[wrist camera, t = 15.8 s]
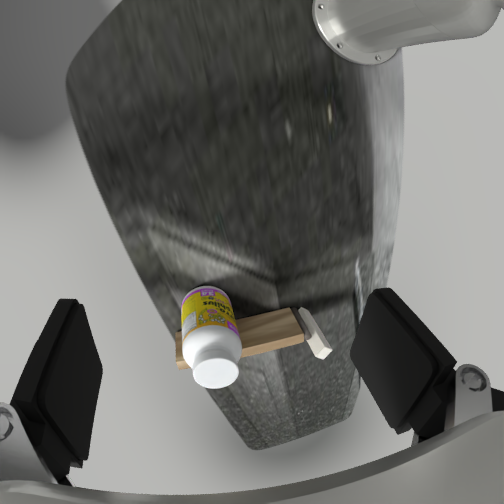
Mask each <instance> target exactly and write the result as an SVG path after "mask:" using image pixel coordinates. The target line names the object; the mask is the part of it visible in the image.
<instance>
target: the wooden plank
mask: <svg viewBox="0 0 504 504" xmlns="http://www.w3.org/2000/svg"><path fill="white" fill-rule="evenodd" d="M235 321H236V325H237V329H238V333H239V336H240V340H241V344H242V354H241V357H246V356H250V355H254V354H259V353H263V352H267V351H271V350H275V349H279V348H283V347H286V346H290V345H294V344H298V343H301V342H304V338H305V339H306V340H309V339H311V337H312V335H311V333H310V331H309V329H308V328H307V326H306V324H305V322H304V321H303V319H302V317H301V315H300V313H299V312H298V310H297V308H296V307H293V308H291V309H290V307H289V308H285V309H281V310H277V311H273V312H268V313H264V314H260V315H256V316H251V317H247V318H242V319H238V320H235ZM241 357H240V358H241ZM176 363H177V366H178V368H179V370H180V369H187V368H191V367H190V366H189V365H188V364H187V363H186V361H185V359H184V357H183V352H182V331H180V332H176Z"/></svg>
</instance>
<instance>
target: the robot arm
mask: <svg viewBox="0 0 504 504" xmlns="http://www.w3.org/2000/svg"><path fill="white" fill-rule="evenodd" d="M318 7H319V8H320V9H319V8H318ZM501 8H503V9H504V0H314V1H313V4H312V15H313V20H314V23H315V26H316V29H317V31H318V32H319V34H320V36H321V38H322V39H323V40H324V41H325V43H326V44H327V45H328V46H329V47H330V48H331V49H332V50H333V51H334V52H335V53H337V54H338V55H340V56H341V57H342V58H344V59H346V60H348V61H350V62H353V63H356V64H360V65H376V64H380V63H383V62H385V61H387V60H389V59H390V58H391V57H392V56H393V55H394V54H395V52H396V51H397V49H398V48H400V47H405V46H411V45H417V44H423V43H430V42H438V41H446V40H455V39H465V38H473V37H477V36H480V35H482V34H484V33H485V32H487V31H488V30H489V29H490V28H491V27H492V25H493V24H494V22H495V20H496V19H497V17H498V14H499V12H500V10H501ZM337 46H338V47H337ZM350 357H351V360H352V361H353V363H354V365H355V367H356V368H357V370H358V372H359V373H360V375H361V377H362V378H363V380H364V382H365V384H366V385H367V387H368V389H369V391H370V392H371V394H372V396H373V398H374V399H375V401H376V403H377V405H378V406H379V408H380V410H381V412H382V414H383V415H384V417H385V419H386V421H387V422H388V424H389V426H390V427H391V428H394V429H395V431H396V433H397V434H401V433H404V432H406V431H409V430H410V429H411V428H413V430H414V436H413V441H412V445H411V447H409V448H407V449H405V450H402V451H399V452H397V453H394V454H392V455H389V456H387V457H384V458H381V459H379V460H376V461H373V462H370V463H367V464H364V465H361V466H358V467H355V468H351V469H348V470H345V471H341V472H338V473H335V474H330V475H327V476H323V477H319V478H315V479H310V480H306V481H302V482H297V483H292V484H287V485H281V486H276V487H270V488H263V489H257V490H248V491H240V492H231V493H218V494H201V495H150V494H133V493H120V492H109V491H100V490H92V489H86V488H80V487H76V486H75V484H74V483H73V482H72V480H71V478H70V477H69V475H68V474H69V470H70V466H71V467H77V468H82V466H83V460H87V459H88V456H89V448H90V441H91V434H92V428H93V422H94V415H95V410H96V405H97V399H98V394H99V389H100V384H101V379H102V374H103V373H102V372H103V369H102V364H101V361H100V358H99V355H98V352H97V349H96V346H95V343H94V339H93V336H92V333H91V330H90V326H89V323H88V319H87V316H86V312H85V309H84V306H83V304H79V302H78V301H77V300H76V299H59V301H58V302H57V304H56V306H55V308H54V309H53V311H52V313H51V315H50V317H49V319H48V321H47V323H46V325H45V327H44V329H43V331H42V333H41V335H40V337H39V339H38V340H37V342H36V343H35V346H34V348H33V350H32V352H31V354H30V356H29V358H28V361H27V363H26V365H25V368H24V370H23V372H22V375H21V377H20V379H19V382H18V384H17V387H16V389H15V392H14V394H13V397H12V400H11V402H10V405H9V404H6V403H3V402H0V504H504V392H503V391H500V390H497V389H494V388H491V386H490V381H489V378H488V376H487V375H486V373H485V372H484V371H483V370H481V369H480V368H478V367H477V366H474V365H471V364H464V365H461V366H460V367H459V368H458V369H457V370H456V371H455V370H454V369H453V368H454V366H455V364H456V363H457V361H456V360H455V359H454V357H453V356H452V355H451V354H450V353H449V352H448V350H447V349H446V348H445V347H444V346H443V345H442V343H441V342H440V341H439V340H438V339H437V338H436V337H435V336H434V334H433V333H432V332H431V331H430V330H429V329H428V328H427V326H426V325H425V324H424V323H423V322H422V321H421V320H420V319H419V318H418V317H417V315H416V314H415V313H414V312H413V311H412V310H411V309H410V308H409V307H408V306H407V305H406V304H405V303H404V302H403V300H402V299H401V298H400V297H399V296H398V295H397V294H396V293H395V292H394V291H393V290H392V289H391V288H380V289H375V290H374V291H373V292H372V293H371V294H370V295H369V297H368V299H367V303H366V306H365V309H364V312H363V315H362V318H361V321H360V324H359V327H358V330H357V333H356V336H355V339H354V341H353V344H352V347H351V350H350Z"/></svg>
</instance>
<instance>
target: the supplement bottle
mask: <svg viewBox="0 0 504 504" xmlns="http://www.w3.org/2000/svg"><path fill="white" fill-rule="evenodd" d="M181 318H182V352H183V357H184V359H185V361H186V363H187V364H188V365H189V366H190V367H191V368H192V370H193V376H194V379H195V381H196V382H197V383H198V384H199V385H201V386H203V387H206V388H213V389H214V388H222V387H225V386H228V385H230V384H231V383H233V382H234V381H235V380H236V378H237V376H238V373H239V369H238V364H237V362H238V361H239V359H240V357H241V354H242V344H241V340H240V336H239V333H238V329H237V325H236V321H235V317H234V313H233V309H232V305H231V302H230V299H229V297H228V296H227V294H226V293H225V292H224V291H222V290H221V289H219V288H216V287H213V286H201V287H197V288H195V289H193V290H191V291H190V292H189V293H188V294H187V295H186V296H185V298H184V300H183V302H182V308H181Z"/></svg>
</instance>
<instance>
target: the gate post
mask: <svg viewBox="0 0 504 504" xmlns="http://www.w3.org/2000/svg"><path fill="white" fill-rule="evenodd" d="M298 312H299V313H300V315H301V317H302V319H303V321H304V322H305V324H306V326H307V328H308V329H309V331H310V333H311V335H312V337H311V339H309V340H307V342H308V344H309V345H310V347H311V349H312V351H313V353H314V355H315V357H318V358H320V359H324V358H325V357H326V356H327V355H328V354H329V353H330V352H331V351H332V348H331V347H330V345H329V343H328V342H327V340H326V339H325V337H324V335H323V334H322V332H321V330H320V329H319V327H318V325H317V324H316V322H315V321H314V319H313V317H312V316H311V314H310V312H309V311H308V310H306V309H304V308H302V307H301V308H300V309H299V310H298Z"/></svg>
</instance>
